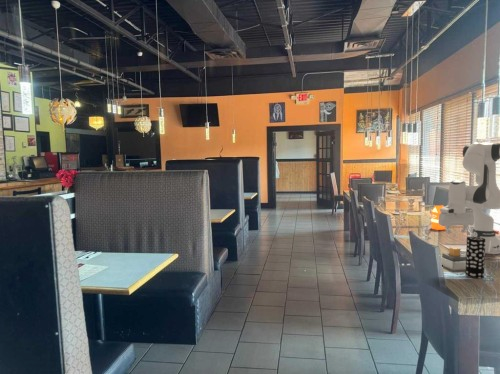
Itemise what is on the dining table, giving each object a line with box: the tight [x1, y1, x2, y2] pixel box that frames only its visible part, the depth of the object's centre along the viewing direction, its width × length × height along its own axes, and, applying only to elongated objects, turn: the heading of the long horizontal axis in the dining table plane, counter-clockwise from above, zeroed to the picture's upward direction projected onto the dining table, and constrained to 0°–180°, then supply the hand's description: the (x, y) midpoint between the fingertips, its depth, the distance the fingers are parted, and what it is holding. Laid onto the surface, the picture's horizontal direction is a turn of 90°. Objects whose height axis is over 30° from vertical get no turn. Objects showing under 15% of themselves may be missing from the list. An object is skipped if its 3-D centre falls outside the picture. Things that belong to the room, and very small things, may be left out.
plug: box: [448, 246, 461, 257], centre depth 214 cm, size 4×4×7 cm
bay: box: [440, 252, 466, 272], centre depth 215 cm, size 18×14×7 cm
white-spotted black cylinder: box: [465, 236, 486, 279], centre depth 197 cm, size 8×8×20 cm
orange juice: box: [430, 204, 446, 231], centre depth 320 cm, size 8×9×20 cm
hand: (455, 232), depth 214 cm, fingers open, 8 cm apart
